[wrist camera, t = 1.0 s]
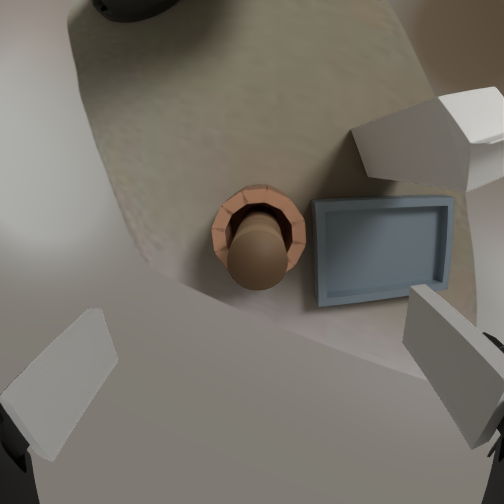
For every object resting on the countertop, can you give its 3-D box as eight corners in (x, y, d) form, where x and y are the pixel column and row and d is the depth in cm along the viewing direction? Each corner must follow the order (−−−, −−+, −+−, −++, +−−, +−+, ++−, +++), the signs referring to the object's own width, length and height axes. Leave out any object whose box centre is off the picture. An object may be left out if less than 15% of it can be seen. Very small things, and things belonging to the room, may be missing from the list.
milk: (407, 162, 31) (550, 177, 10) (366, 177, 32) (499, 204, 11) (391, 115, 30) (526, 79, 9) (348, 128, 31) (469, 87, 9)
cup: (219, 188, 33) (207, 194, 26) (293, 181, 33) (302, 185, 25) (227, 259, 35) (218, 283, 28) (298, 253, 35) (307, 276, 28)
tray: (310, 199, 33) (315, 202, 30) (442, 194, 32) (454, 197, 29) (314, 297, 36) (318, 306, 34) (437, 281, 35) (447, 289, 32)
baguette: (239, 206, 33) (223, 235, 19) (276, 203, 32) (285, 229, 19) (243, 241, 34) (230, 292, 20) (279, 238, 33) (289, 287, 20)
